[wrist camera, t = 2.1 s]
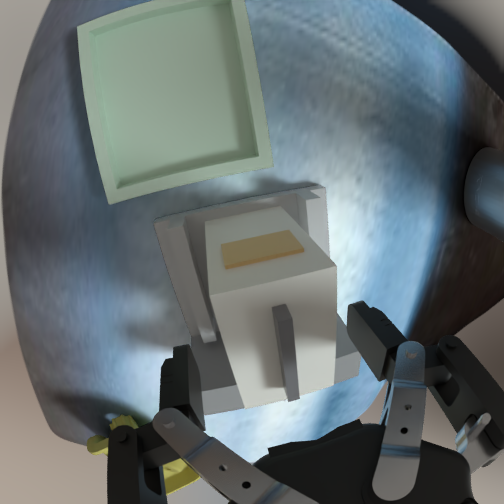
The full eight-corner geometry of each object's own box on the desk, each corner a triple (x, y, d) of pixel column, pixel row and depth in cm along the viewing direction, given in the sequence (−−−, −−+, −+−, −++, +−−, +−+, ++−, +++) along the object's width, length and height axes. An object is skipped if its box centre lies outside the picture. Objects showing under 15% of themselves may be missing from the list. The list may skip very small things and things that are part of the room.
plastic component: (207, 474, 33) (154, 500, 29) (184, 442, 39) (135, 466, 34) (158, 423, 24) (80, 458, 19) (134, 376, 29) (66, 407, 24)
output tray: (237, -2, 14) (241, -14, 12) (266, 162, 19) (273, 166, 17) (87, 34, 13) (77, 26, 11) (117, 197, 18) (109, 204, 16)
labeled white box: (280, 203, 19) (347, 273, 10) (291, 301, 23) (339, 397, 14) (203, 218, 19) (209, 306, 10) (228, 316, 23) (248, 423, 14)
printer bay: (320, 184, 20) (370, 213, 14) (326, 323, 26) (358, 375, 20) (155, 218, 19) (135, 263, 13) (200, 353, 25) (204, 415, 19)
